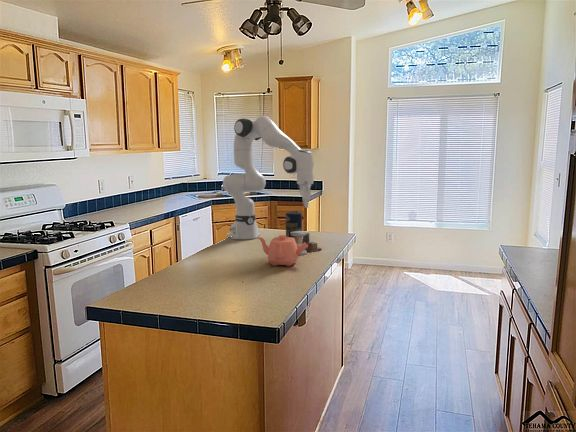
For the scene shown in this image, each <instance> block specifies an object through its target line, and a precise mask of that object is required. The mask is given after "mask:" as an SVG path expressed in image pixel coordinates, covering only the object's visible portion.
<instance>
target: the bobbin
mask: <svg viewBox="0 0 576 432" xmlns="http://www.w3.org/2000/svg"><path fill="white" fill-rule="evenodd" d="M290 235H291V236H295V242H296V245H297V249H298V248H299V247H300V246H301V245H302V239H303V236H305V235H307V234H306V232H304V230H302V231H294V232H291V233H290ZM307 254H308V251H306V250H303V251H302V252H301V253H300V254H299V255H298V256H305V255H307Z"/></svg>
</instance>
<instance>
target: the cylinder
mask: <svg viewBox="0 0 576 432" xmlns="http://www.w3.org/2000/svg"><path fill="white" fill-rule="evenodd" d="M303 231H304V230H303ZM304 232H306V234H307V235H305V236H302V239H303V243H304V242H305V243H306V244H307V242H310V231H308V230H307V231H306V230H305V231H304Z"/></svg>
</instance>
